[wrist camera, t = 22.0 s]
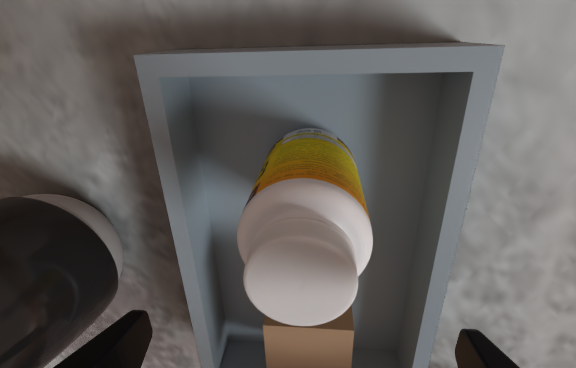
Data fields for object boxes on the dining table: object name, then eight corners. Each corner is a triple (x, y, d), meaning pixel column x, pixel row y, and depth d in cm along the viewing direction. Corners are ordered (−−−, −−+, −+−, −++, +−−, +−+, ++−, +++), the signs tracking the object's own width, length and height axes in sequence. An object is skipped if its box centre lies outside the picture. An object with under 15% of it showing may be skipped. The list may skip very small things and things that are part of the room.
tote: (404, 349, 27) (419, 404, 23) (222, 337, 29) (205, 387, 25) (461, 41, 17) (505, 45, 13) (174, 49, 19) (133, 54, 15)
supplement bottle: (265, 123, 19) (212, 209, 10) (359, 126, 19) (397, 220, 9) (266, 205, 21) (225, 336, 12) (350, 210, 21) (373, 349, 12)
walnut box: (342, 338, 26) (347, 418, 21) (281, 334, 27) (270, 411, 21) (346, 259, 23) (354, 330, 17) (276, 257, 23) (262, 325, 18)
